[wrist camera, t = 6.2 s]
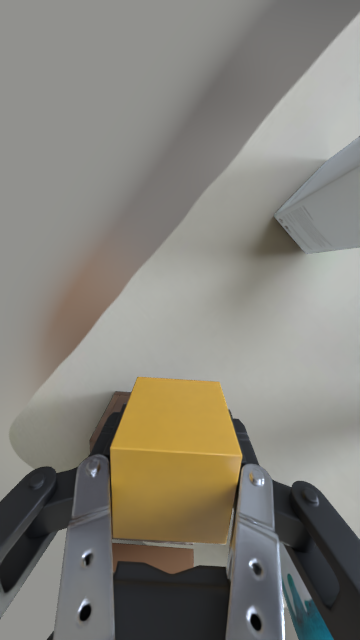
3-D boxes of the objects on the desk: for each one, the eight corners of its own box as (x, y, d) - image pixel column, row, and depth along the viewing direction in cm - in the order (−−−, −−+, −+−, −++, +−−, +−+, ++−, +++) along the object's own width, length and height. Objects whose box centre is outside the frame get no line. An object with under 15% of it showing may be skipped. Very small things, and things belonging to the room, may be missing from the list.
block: (211, 446, 14) (226, 545, 9) (136, 442, 14) (112, 538, 9) (219, 381, 13) (243, 456, 8) (137, 376, 12) (109, 447, 8)
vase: (249, 521, 37) (312, 772, 19) (285, 484, 35) (399, 733, 16) (295, 542, 39) (397, 797, 20) (334, 507, 36) (490, 764, 18)
